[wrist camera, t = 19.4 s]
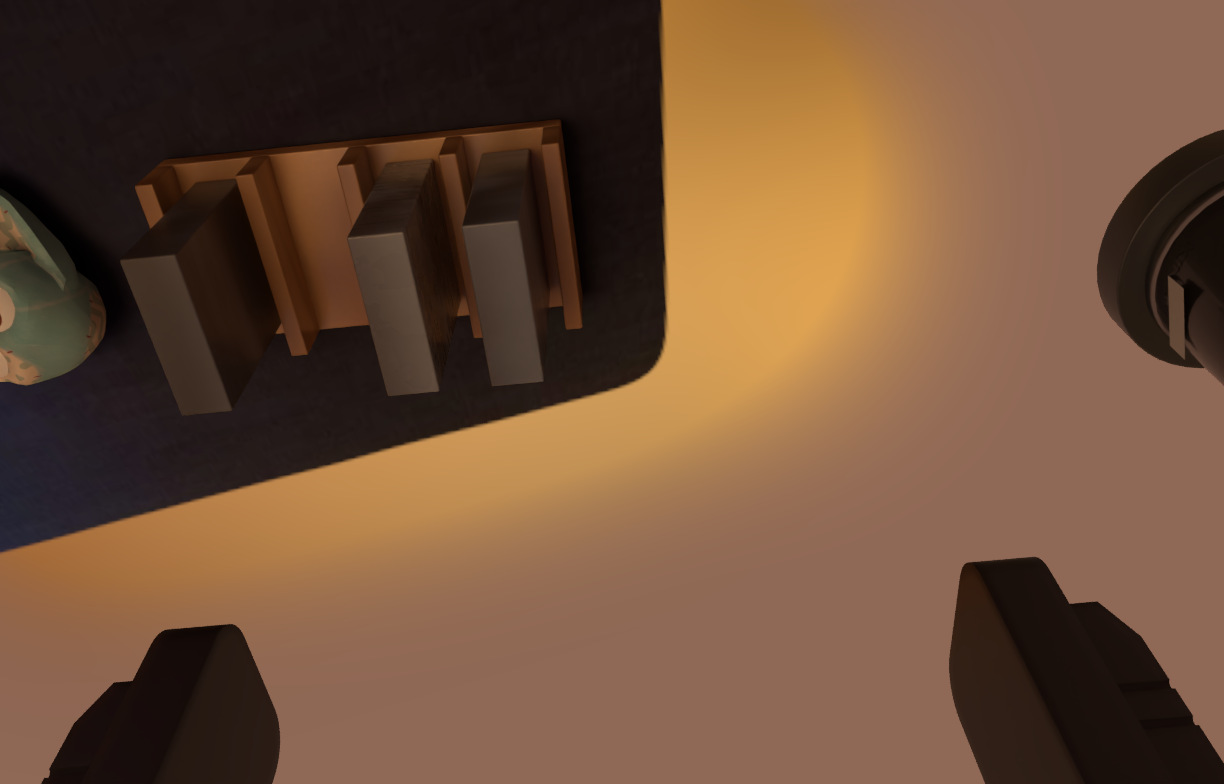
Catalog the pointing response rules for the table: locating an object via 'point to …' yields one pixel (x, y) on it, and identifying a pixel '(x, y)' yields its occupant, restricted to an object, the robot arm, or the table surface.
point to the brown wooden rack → (358, 255)
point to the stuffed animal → (42, 301)
